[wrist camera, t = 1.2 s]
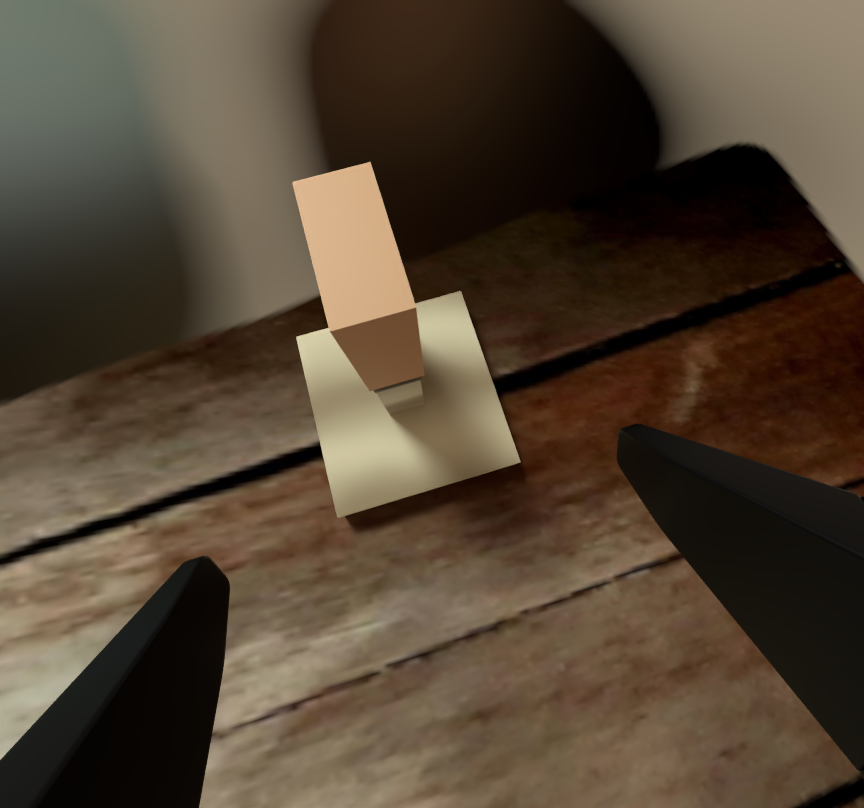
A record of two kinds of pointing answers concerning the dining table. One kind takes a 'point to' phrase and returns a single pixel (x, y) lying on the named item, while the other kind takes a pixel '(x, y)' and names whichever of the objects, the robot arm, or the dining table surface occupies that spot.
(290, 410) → the dining table surface
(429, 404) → the cream square base plate
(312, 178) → the peach rectangular post
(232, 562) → the dining table surface
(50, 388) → the dining table surface
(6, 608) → the dining table surface
